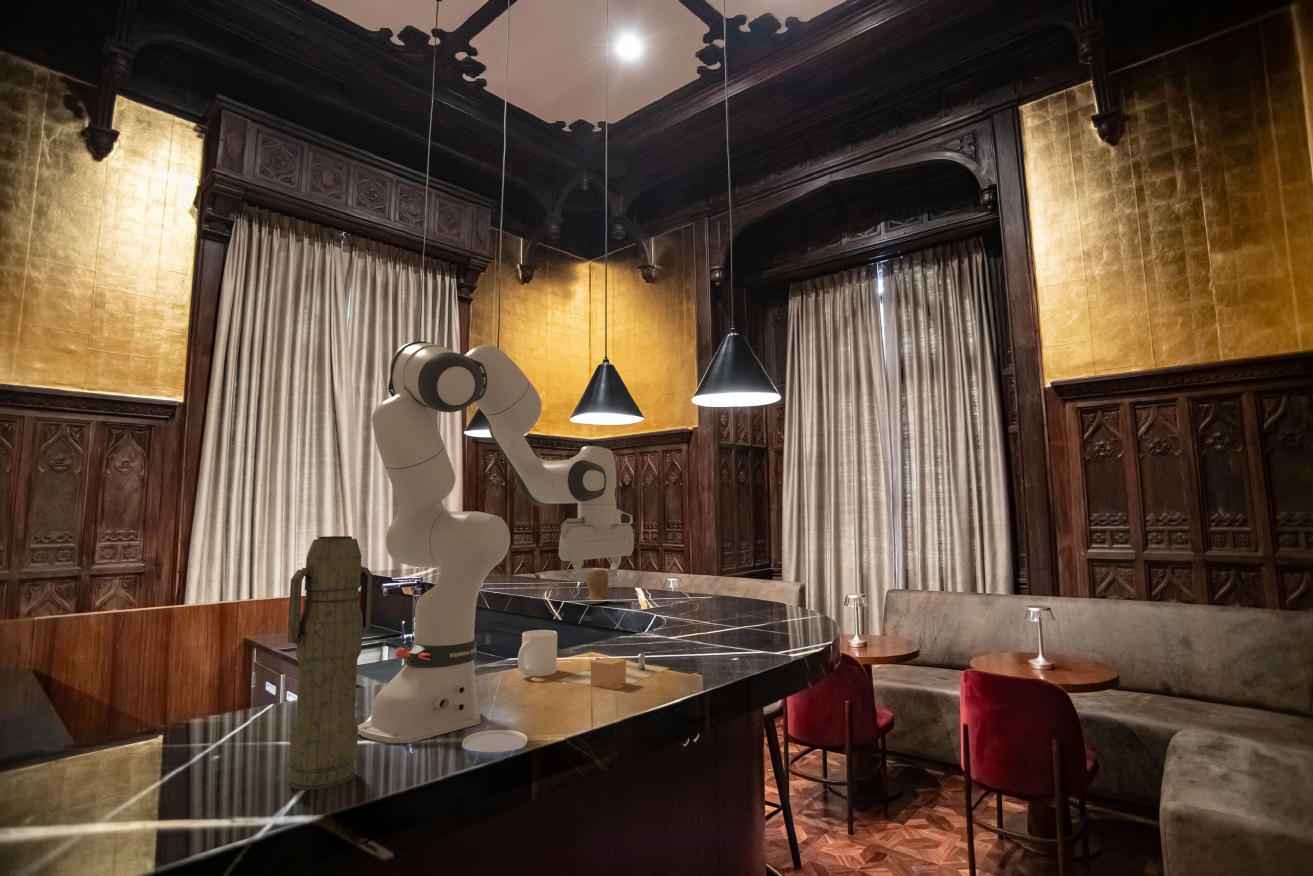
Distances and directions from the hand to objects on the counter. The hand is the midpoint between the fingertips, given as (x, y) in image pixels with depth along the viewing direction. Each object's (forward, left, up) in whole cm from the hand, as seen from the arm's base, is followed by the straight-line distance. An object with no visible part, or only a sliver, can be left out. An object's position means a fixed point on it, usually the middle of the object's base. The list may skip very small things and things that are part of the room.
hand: (597, 578), depth 154 cm
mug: (0, +18, -24) cm, 30 cm away
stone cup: (+122, +84, -24) cm, 150 cm away
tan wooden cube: (0, -3, -23) cm, 23 cm away
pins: (+12, +1, -23) cm, 26 cm away
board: (+9, +1, -24) cm, 26 cm away
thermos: (-63, +5, -24) cm, 68 cm away
